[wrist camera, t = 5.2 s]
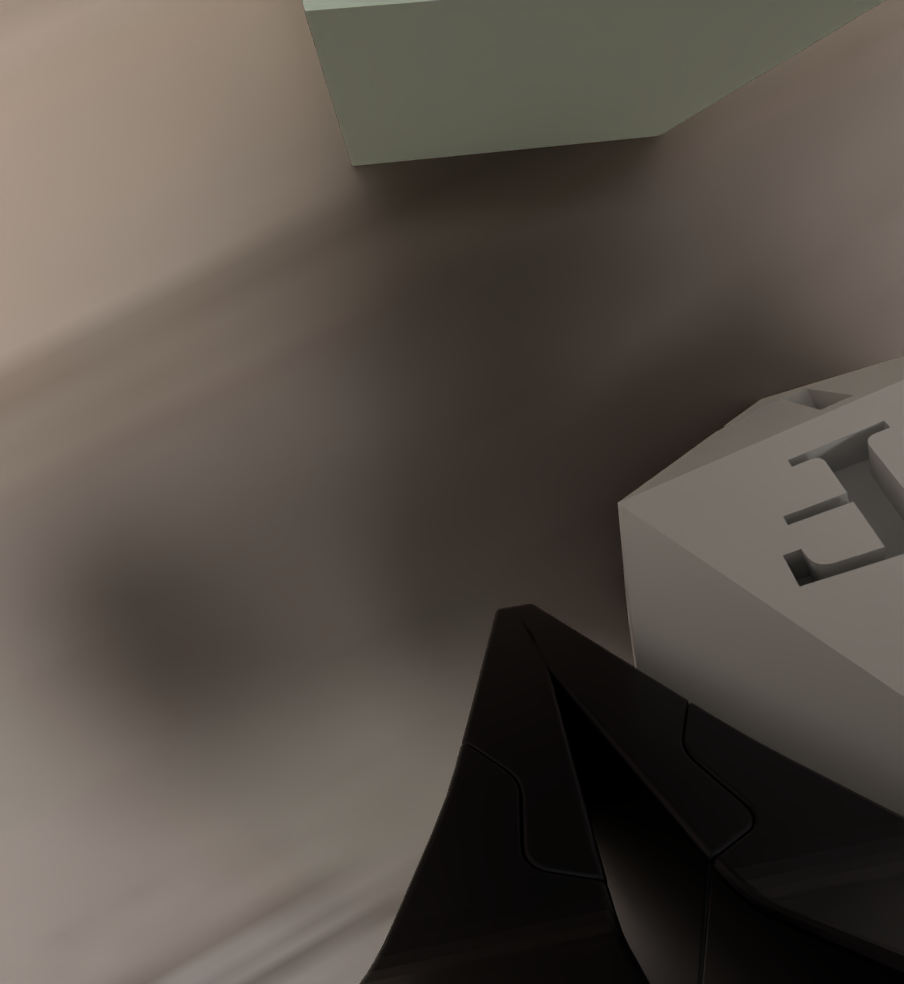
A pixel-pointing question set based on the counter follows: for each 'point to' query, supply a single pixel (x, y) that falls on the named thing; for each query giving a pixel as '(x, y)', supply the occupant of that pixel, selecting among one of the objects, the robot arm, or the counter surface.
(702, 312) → the counter surface
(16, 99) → the counter surface
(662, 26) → the sage block
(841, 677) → the die
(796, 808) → the robot arm
